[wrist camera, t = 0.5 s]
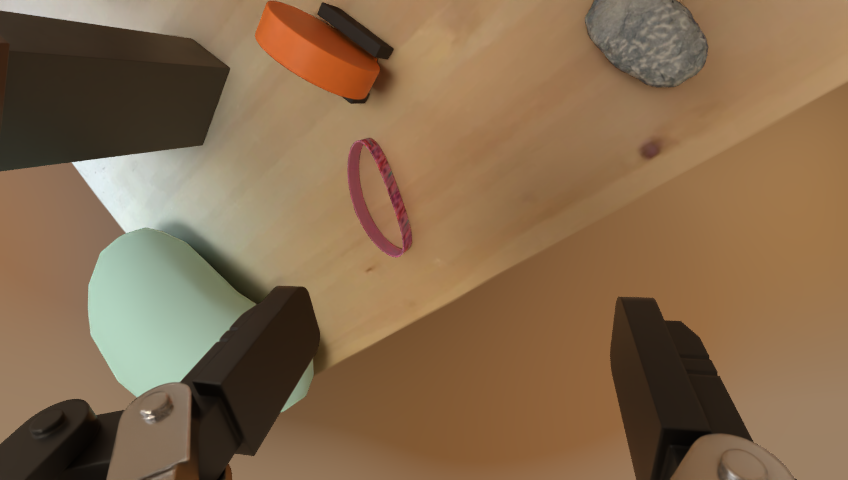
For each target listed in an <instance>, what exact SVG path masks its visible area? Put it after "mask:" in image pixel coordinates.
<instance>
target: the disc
mask: <svg viewBox="0 0 848 480" xmlns="http://www.w3.org/2000/svg"><path fill="white" fill-rule="evenodd" d="M255 37H256V40H257V42H258V43H259V45H260V46H261V47H262V48H263V49H264V50H265V51H266V52H267V53H268V54H269V55H270V56H271V57H272V58H274V59H275V60H276V61H277V62H279V63H280V64H281V65H283V66H284V67H285V68H287V69H288V70H290V71H291V72H293V73H295V74H296V75H298V76H299V77H301V78H303V79H305V80H306V81H308V82H310V83H312V84H314V85H316V86H318V87H320V88H322V89H324V90H327V91H329V92H331V93H334V94H337V95H340V96H343V97H346V98H350V99H357V100H360V99H364V98H365V97H366V96H367V95H368V93H369V91H370V89H371V87H372V85H373V83H374V81H375V79H376V78H377V76H378V74H379V72H380V67H379V65H378V63H377V60H378V59H377V58H376V57H374V56H373V55H371V54H370V53H369V52H367V51H366V50H365V49H363V48H362V47H361V46H359V45H358V44H357V43H355V42H354V41H353V40H351V39H350V38H349V37H347V36H346V35H345V34H343V33H342V32H341V31H339V30H338V29H336V28H332V27H331V26H329V25H328V24H326V23H324V22H322V21H321V20H319V19H317V18H315V17H313V16H311V15H310V14H308V13H306V12H303V11H301V10H299V9H297V8H295V7H292V6H290V5H287V4H284V3H281V2H277V1H268V2H267V3H266V6H265V9H264V11H263V14H262V17H261V19H260V22H259V25H258V28H257V30H256V33H255Z"/></svg>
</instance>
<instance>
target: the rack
mask: <svg viewBox="0 0 848 480" xmlns="http://www.w3.org/2000/svg"><path fill="white" fill-rule="evenodd" d="M9 46H10V44H9V43H8V42H7V41H6V40H5V39H3V38H2V37H1V36H0V134H1V124H2V115H3V105H4V95H5V85H6V75H7V66H8V56H9Z"/></svg>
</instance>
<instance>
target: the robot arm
mask: <svg viewBox="0 0 848 480" xmlns="http://www.w3.org/2000/svg"><path fill="white" fill-rule="evenodd" d="M319 341H320V331H319V327H318V324H317V320H316V317H315V313H314V310H313V306H312V303H311V299H310V296H309V293H308V291H307V289H306V288H305V287H297V286H277V287H275V288H274V289H273V290H272V291H271V292H270V293H269V294H268V295H267V297H266V298H265V299H264V300H263V301H262V302H261V303H258V304H257V305H255V306H254V307H252V308H251V309H249V310H248V311H246V312H245V313H243V314H242V315H241V316H240V317H239V318H238V319H237V320H236V321H235V322H234V323H233V324H232V326H231V327H230V329H229V331H228V330H227V331H226V332H225V333H224V334H223V335H222V336H221V338H220V340H219V342H216V343H215V344H214V345H213V346H212V347H211V349H210V350H209V351H208V352H207V353H206V354H205V355H204V356H203V357H202V358H201V359H200V361H199V362H198V363H197V364H196V365H195V366H194V367H193V368H192V369H191V370H190V372H189V373H188V374H187V375H186V376H185V377H184V378H183V379H182V380H181V381H180V382H171V383H166V384H162V385H159V386H157V387H154V388H152V389H150V390H148V391H146V392H145V393H143V394H142V395H140V396H139V397H137V398H136V399H135V400H134V401H133V402H132V403H131V404H130V405H129V406H128V407H127V408H126V410H122V411H116V412H111V413H106V414H100V415H95V413H94V412H93V410H92V409H91V407H90V406H89V404H88V403H87V402H86V401H84V400H81V399H72V400H66V401H63V402H60V403H57V404H54V405H52V406H50V407H48V408H46V409H44V410H42V411H40V412H39V413H37V414H36V415H34V416H33V417H31V418H30V419H29V420H27V421H26V422H25V423H24V424H23V425H22V426H20V427H19V428H18V429H17V430H16V431H15V432H14V433H12V434H11V435H10V436H9V437H8V438H7V439H6V440H4V441H3V442H2V443H1V444H0V480H232V472H231V468H230V466H229V464H228V463H229V461H230V460H231V458H232V457H233V455H234V454H243V455H251V456H254V455H255V454H256V452H257V450H258V448H259V447H260V445H261V444H262V442H263V440H264V438H265V437H266V435H267V434H268V432H269V430H270V429H271V427H272V425H273V424H274V422H275V420H276V419H277V417H278V415H279V414H280V412H281V410H282V409H283V407H284V405H285V404H286V402H287V400H288V399H289V397H290V395H291V394H292V392H293V390H294V389H295V387H296V385H297V384H298V382H299V380H300V379H301V377H302V375H303V374H304V372H305V370H306V369H307V367H308V365H309V364H310V362H311V360H312V359H313V357H314V355H315V354H316V352H317V350H318V346H319ZM610 357H611V358H610V359H611V370H612V376H613V380H614V384H615V389H616V393H617V397H618V402H619V406H620V411H621V415H622V419H623V423H624V428H625V432H626V437H627V441H628V445H629V449H630V454H631V459H632V463H633V467H634V472H635V476H636V480H796V479H795V478H794V476H793V475H792V474H791V472H790V471H789V469H788V468H787V467H786V466H785V465H784V464H783V463H782V462H781V461H780V460H779V459H778V458H777V457H776V456H774V455H773V454H772V453H770V452H769V451H767V450H766V449H765V448H763V447H761V446H759V445H758V444H756V443H754V442H753V440H752V438H751V436H750V435H749V433H748V431H747V429H746V427H745V425H744V423H743V421H742V419H741V417H740V415H739V413H738V411H737V410H736V407H735V405H734V403H733V402H732V400H731V398H730V396H729V394H728V392H727V390H726V388H725V386H724V384H723V382H722V380H721V378H720V376H717V370H716V369H715V367H714V365H713V363H712V361H711V360H709V355H708V353H707V351H706V349H705V347H704V345H703V343H702V341H701V339H700V338H699V337H698V336H697V335H696V334H695V333H694V332H693V331H691V330H690V329H689V328H688V327H687V326H686V325H684V323H682V322H681V321H664V319H663V316H662V314H661V312H660V309H659V307H658V305H657V302H656V300H655V299H654V298H641V297H640V298H639V297H618V298H617V301H616V307H615V315H614V324H613V332H612V340H611V351H610Z"/></svg>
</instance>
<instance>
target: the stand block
mask: <svg viewBox="0 0 848 480" xmlns="http://www.w3.org/2000/svg"><path fill="white" fill-rule="evenodd" d="M0 36H1V37H2V38H3V39H5V40H6V41H7V42H8V43H9V44H10V46H9V56H8V66H7V75H6V85H5V95H4V105H3V115H2V124H1V134H0V171H7V170H14V169H22V168H30V167H38V166H45V165H52V164H61V163H68V162H76V161H84V160H92V159H99V158H107V157H115V156H122V155H130V154H138V153H146V152H153V151H161V150H169V149H176V148H184V147H192V146H200V145H203V142H204V139H205V136H206V134H207V131H208V128H209V125H210V122H211V120H212V117H213V114H214V111H215V108H216V105H217V103H218V100H219V97H220V94H221V91H222V89H223V86H224V83H225V80H226V77H227V75H228V72H229V69H230V68H229V67H227V66H226V65H225V64H224V63H222V62H221V61H220V60H218V59H217V58H216V57H215V56H213V55H212V54H211V53H210V52H208V51H207V50H206V49H204V48H203V47H202V46H201V45H199V44H198V43H197V42H195V41H194V40H193V39H191V38H184V37H177V36H170V35H163V34H157V33H150V32H143V31H136V30H129V29H122V28H115V27H109V26H102V25H95V24H88V23H81V22H74V21H67V20H61V19H54V18H47V17H40V16H33V15H26V14H20V13H13V12H6V11H0Z"/></svg>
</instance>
